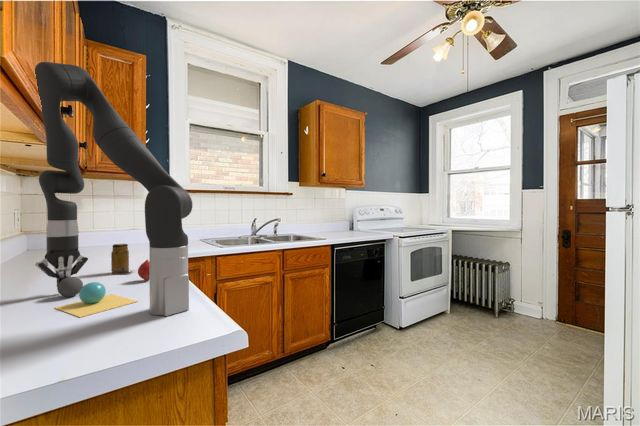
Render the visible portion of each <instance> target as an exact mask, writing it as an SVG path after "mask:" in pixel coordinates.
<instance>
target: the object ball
mask: <svg viewBox="0 0 640 426" xmlns="http://www.w3.org/2000/svg"><path fill="white" fill-rule="evenodd" d="M106 291H107V290H106V286H105V285H103V284H102V283H100V282H96V281H95V282H94V281H93V282H92V281H91V282H89V283H86V284H84V285H83V287H82V288H81V290H80V292H79V293H78V297H79V299H80V301H82V302H84V303H86V304H94V303H97V302H99V301H101V300H102V299H103V298H104V296H106Z"/></svg>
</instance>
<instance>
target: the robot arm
mask: <svg viewBox="0 0 640 426" xmlns="http://www.w3.org/2000/svg"><path fill="white" fill-rule="evenodd" d="M34 67H35V68H34V70H35V74H36V79H37V86H38V92H39V96H40V100H41V105H42V112H41V111H40V114H41V117H42V121H43V125H44V131H45V138H46V142H45V144H46V145H45V147H46V162H47V164H48V165H49V166H50V167H52V168H55V169H57V170H53V169H47V170H43V171H42V172H41V173H40V175H39V176H38V183H39V186H40V188H41V191H42V194H43V196H44V199H45V202H46V209H47V210H46V211H47V212H46V213H47V215H46V216H47V219H46V220H47V224H46V253H45V255H44V259H42V260H40V261H39V262H35V266H36V267H37V268H38V269H39V270H41V271H42V272H43V273H44V274H45V275H47V276H48V277H49V278H55V279H56V288H57V287H58V284H59V283H60V282H61V281H62V280H63V279H65V278H67V277H72V276H73V275H77V274H78V273H79V271H80V270H81V269H82V268H83V266H84V265H85V264H86V263H87V262H88V261H89V257H86V256H83V255H81V252H80V250H79V233H80V231H79V223H78V205H77V203H76V202H74V201H69V200H63V199H60V198H58V197H57V195H56V194H70V195H71V194H72V195H73V194H74V195H76V194H79V193H81V192H82V191H83V190H84V189H85V181H84V177H83V175H82V173H81V170H80V167H79V142H78V139H77V137H76V135H75V133H74V132H73V130H72V129H71V128H70V126H69V124H68V123H66V121H65V119H64V118H63V116H62V113H61V102H79V103H81V104H82V105H84V106H85V108H86V109H87V110H88V112H89V113H90V114H91V116H92V136H93V139H94V142H95V144H96V145H97V146H98V148H99V149H100V150H101V151H102V153H103V154H104V155H105V157H107V158H108V159H109V160H110V161H111V162H112V163H113V164H114V165H115V166H116V167H117V168H119V169H120V170H121V171H123V172H124V173H125V174H127V175H128V176H129V177H131V178H133V179H134V180H135V181H137V182H138V183H140V184H141V185H142V186H143V187H144V188H145V189H146V191H147V192H148V193H147V194H146V197H145V201H144V220H145V221H144V223H145V234H146V237H147V239H148V242H149V243H148V244H149V259H148V260H149V262H150V279H149V313H150V314H151V315H155V316H165V317H167V316H172V315H176V314H178V313H182V312H187V311H189V310H190V292H189V291H190V276H189V236H188V234H187V233H186V232H184V230H183V219H185V218H186V217H189V215H190V214H191V212H193V211H192V210H193V199H192V196H191V195H190V193H189V192H188V191H187V190H186V189H185V188H184V187H183V186H182V185H181V184H179V182H177V181H176V180H175V179H174V178H173V177H172V176H171V175H170V174H169V173H168V172H167V171H166V169H164V167H163V166H162V165H161V164H160V162H159V161H158V160H157V158H156V157H155V156H154V155H153V153H152V152H151V151H150V150H149V149H148V147H147V146H146V145H145V143H143V141H142V140H141V138H140V137H139V136H138V135H137V134H136V133H135V131H134V130H133V129H132V128H131V126H130V125H128V124H127V122H125V120H124V119H123V118H122V117H121V116H120V114H119V113H118V112H117V111H116V109H115V108H114V107H113V105H112V104H111V103H110V101H109V100H108V99H107V97H106V96H105V95H104V93H103V91H102V90H101V89H100V87H99V86H98V85H97V83H96V81H95V80H94V78H93V77H92V76H91V75H90V74H89V72H88V71H87V70H85V69H84V68H83V67H81V66H79V65H74V64H67V63H59V62H50V61H41V62H38V63H37V64H36V65H35V66H34ZM49 264H50V265H51V266H52V267H53V270H54V271H53V270H52V269H51V268H50V267H49Z"/></svg>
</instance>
